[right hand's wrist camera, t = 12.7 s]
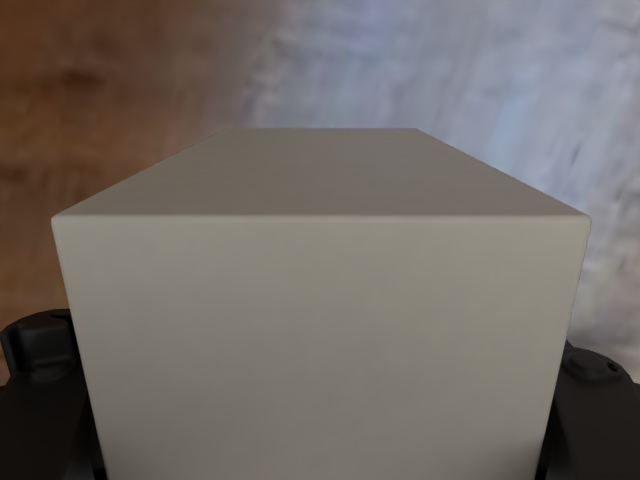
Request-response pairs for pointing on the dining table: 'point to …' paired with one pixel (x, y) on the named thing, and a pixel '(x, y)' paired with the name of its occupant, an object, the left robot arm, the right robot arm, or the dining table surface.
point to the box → (321, 310)
